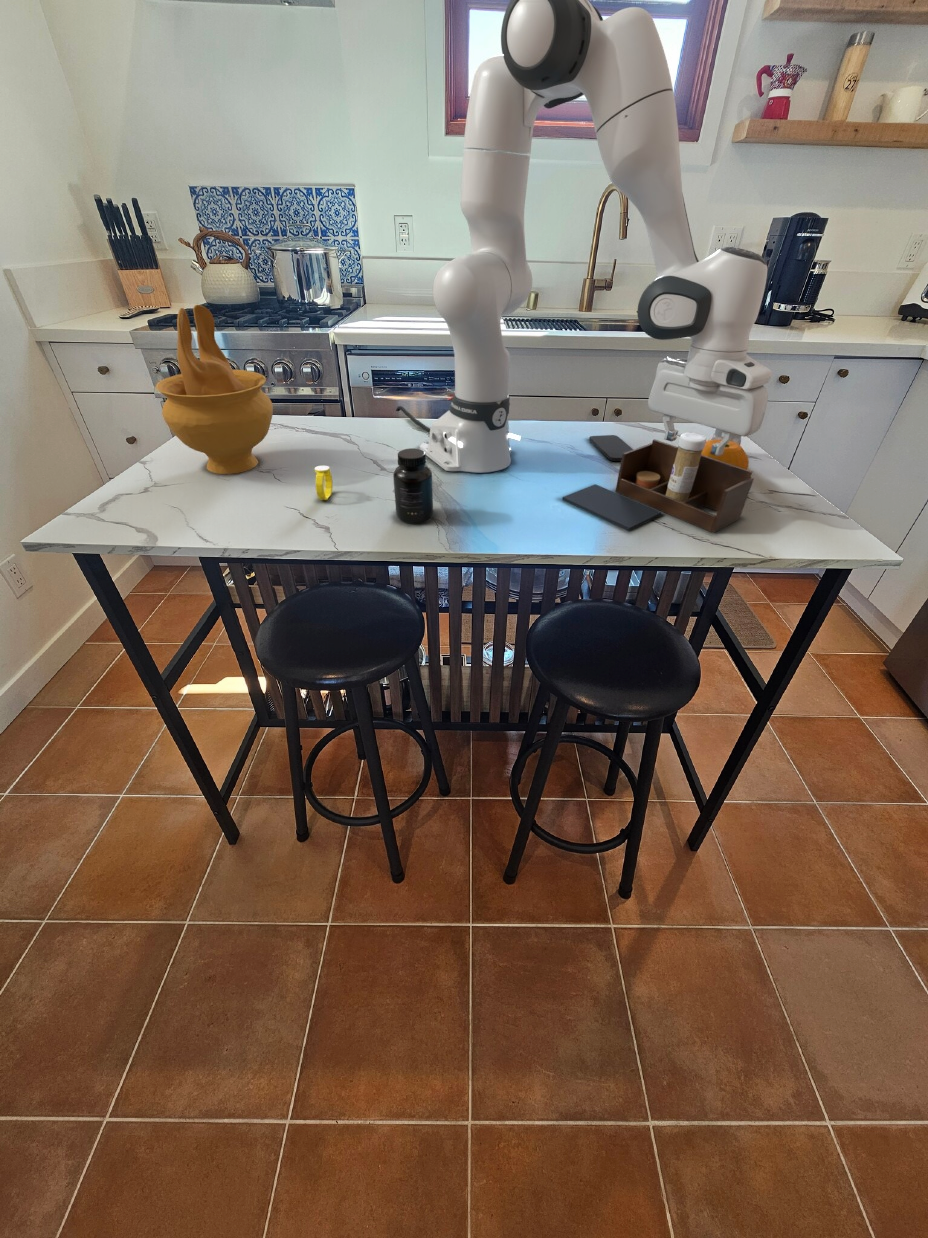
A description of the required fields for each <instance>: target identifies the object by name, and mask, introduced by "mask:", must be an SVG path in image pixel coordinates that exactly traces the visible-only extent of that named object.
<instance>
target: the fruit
mask: <svg viewBox="0 0 928 1238" xmlns="http://www.w3.org/2000/svg"><path fill="white" fill-rule="evenodd" d="M721 441H722V440H720V439H715V440H711V439H708V440H706V444H705V447H704V449H703V451H702V454H701V455H704V456H707V457H710V458H713V459H716V460H719V461H722V462H725V463H728V464H731V465H734V466H737V467H740V468H743V469H746V470H749V463H750V462H749V461H750V460H749V457H748V455H747V452H746V451H745V449H744V448H743V447H742V446H741V444H740V445H739V444H737V443H734V442H731V441H730V442H729V443H728V444H726V445H725V448H724V451H723V454H722V455H720V456H716V455H713V454H711V453H710V452H711V450H712V445H713V444H716V443H720V442H721Z"/></svg>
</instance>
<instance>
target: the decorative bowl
mask: <svg viewBox="0 0 928 1238" xmlns="http://www.w3.org/2000/svg"><path fill="white" fill-rule="evenodd" d="M192 310H193V311H192V312H193V318H194V324H195V327H196V340H197V347H198V354H199V359H198V357H196V355H195V354H194V352H193V349H192V348H193V347H192V341H193V333H192V329H191V328H192V327H191V322H190V319H189V317H188V313H187V311H186V309H185V307H180V308H179V310H178V313H177V317H176V327H177V329H176V330H177V340H176V341H177V342H176V343H177V347H176V352H177V353H176V354H177V363H178V367H179V371H180V373H179V374H175V375H173V376H172V375H171V376H169V377H165V378H164V379H162V380H159V381H158V382H157V384H156V385H155V389H156V390H157V391H158V392H160V393H161V394H162V395H163V396H165V397H166V400H165V402H164V403H163V406H162V411H161V415H162V417H163V420H164V422H165V424H166V425H167V427H168V428H169V429H170V430H171V431H172V433H173V434H174V435H175V437H177V438H178V439H179V441H181V442H182V444H183V445H185V446H187V447H188V448H190V449H192V450H193V451H196V452H199V453H203V454H205V455H206V456H207V458H208V460H207V464H206V469H207V471H208V472H211V473H213V474H219V475H231V474H239V473H244V472H247V471H250V470H252V469H254V468H256V467H257V465H258V464H259V460H258V459H257V458H256V457H255V455H254V454H253V449H254V448H255V447H256V446H258V445H259V444H260V443H261V442H262V441H264V439H265V438H266V436H267V435H268V433H269V430H270V427H271V423H272V420H273V414H274V406H273V402H272V400H271V399H270V397H269V396H268V395H267V394H266V393H265V392H264V391H262V388H263V386H264V385H265V383H266V381H267V377H265V375H264V374H261V373H259V372H256V371H252V370H245V369H232V366H231V364H230V362H229V360H228V358H227V357H226V355H225V354H224V352H223V350H222V349H221V347H220V346H219V344H218V343H217V340H216V337H215V329H216V328H215V327H216V325H215V323H216V322H215V320H214V317H213V316H214V315H213V314H212V312H211V311H210V310H209V309H208V308H207V307H206V306H203V304H195V305H194V306H193V309H192Z"/></svg>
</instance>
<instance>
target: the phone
mask: <svg viewBox="0 0 928 1238" xmlns="http://www.w3.org/2000/svg"><path fill="white" fill-rule="evenodd" d="M588 441H589V442H591V443H592V444H593V446H595V447H596V448H597V450H599V451H600V452H601V453H602V454H603V455H604V456H605V457H606V458H607V459H608V460H609V461H612V462H621V460H622V455H623V453H625V452H628V451H631V450H634V449H633V447H631V446H630V445H629V444H628V443H626V442H625V441H624V440H623V439H622V438H621V437H619V436H618V435H616V434H605V435H604V434H603V435H589V439H588Z"/></svg>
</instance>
